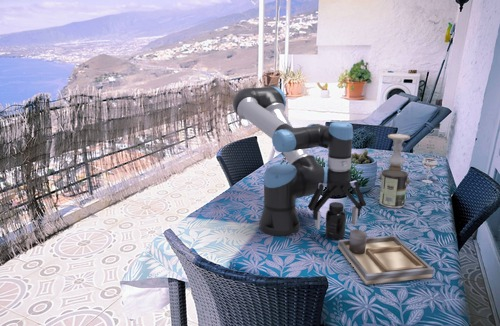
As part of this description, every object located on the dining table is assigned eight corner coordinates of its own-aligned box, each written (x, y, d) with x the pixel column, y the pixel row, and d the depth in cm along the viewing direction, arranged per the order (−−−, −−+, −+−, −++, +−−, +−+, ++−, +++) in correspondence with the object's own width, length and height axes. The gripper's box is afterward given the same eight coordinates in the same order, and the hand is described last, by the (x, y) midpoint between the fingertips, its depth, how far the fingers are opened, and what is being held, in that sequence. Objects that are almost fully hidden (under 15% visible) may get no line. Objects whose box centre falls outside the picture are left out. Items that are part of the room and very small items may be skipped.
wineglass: (431, 179, 175) (434, 157, 172) (437, 183, 168) (440, 160, 165) (417, 179, 176) (420, 157, 172) (422, 183, 169) (426, 160, 166)
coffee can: (401, 199, 150) (404, 169, 146) (406, 209, 140) (410, 177, 136) (377, 198, 152) (380, 168, 148) (381, 207, 142) (384, 176, 138)
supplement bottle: (330, 229, 124) (332, 199, 121) (347, 234, 120) (350, 203, 117) (321, 236, 119) (323, 205, 116) (339, 242, 115) (341, 210, 112)
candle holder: (399, 177, 179) (404, 133, 172) (409, 184, 169) (415, 137, 162) (379, 177, 179) (383, 133, 172) (388, 184, 168) (393, 138, 162)
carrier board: (366, 284, 93) (368, 261, 91) (338, 247, 112) (339, 227, 110) (432, 277, 95) (435, 255, 93) (394, 242, 114) (396, 223, 112)
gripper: (306, 174, 107) (304, 233, 113) (379, 169, 111) (374, 227, 116) (299, 167, 115) (298, 224, 120) (368, 163, 118) (364, 218, 123)
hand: (335, 226), depth 118 cm, fingers open, 13 cm apart
